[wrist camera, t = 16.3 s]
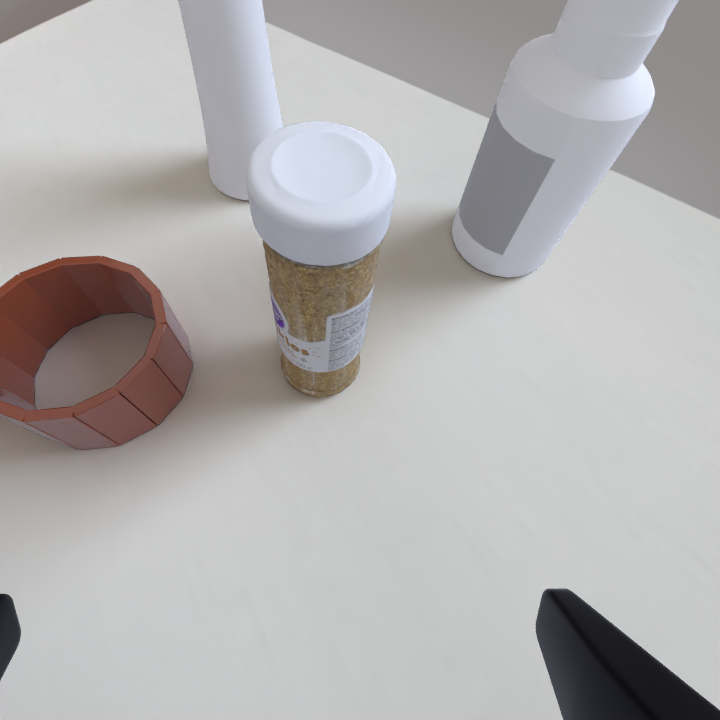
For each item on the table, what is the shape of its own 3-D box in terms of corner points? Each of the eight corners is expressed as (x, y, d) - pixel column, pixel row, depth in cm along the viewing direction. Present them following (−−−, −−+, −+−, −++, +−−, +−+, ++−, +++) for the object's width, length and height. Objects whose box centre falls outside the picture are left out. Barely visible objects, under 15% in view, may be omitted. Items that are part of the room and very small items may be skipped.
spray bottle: (479, 191, 32) (632, -198, 16) (562, 235, 30) (824, -144, 14) (432, 246, 29) (560, -157, 13) (521, 297, 28) (788, -86, 12)
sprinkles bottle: (265, 355, 24) (211, 148, 12) (329, 315, 26) (336, 96, 14) (313, 416, 23) (304, 248, 11) (377, 370, 25) (430, 179, 13)
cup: (177, 290, 26) (149, 238, 22) (205, 419, 23) (179, 386, 19) (-26, 338, 24) (-97, 290, 20) (-29, 491, 20) (-117, 470, 16)
